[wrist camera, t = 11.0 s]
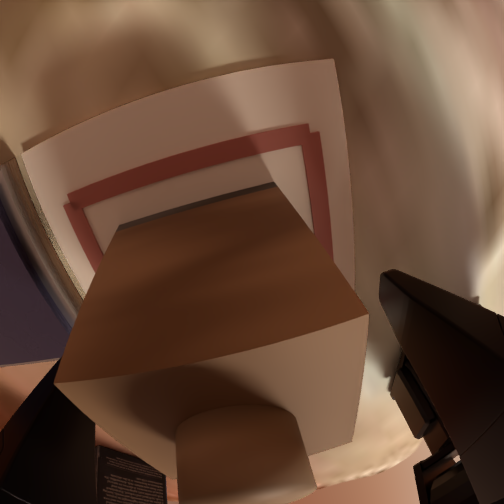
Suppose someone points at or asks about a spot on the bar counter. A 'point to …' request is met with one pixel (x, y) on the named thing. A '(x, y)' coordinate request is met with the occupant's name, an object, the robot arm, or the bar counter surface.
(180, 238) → the stamp
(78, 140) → the print sheet
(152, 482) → the small box
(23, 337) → the ink pad
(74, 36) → the bar counter surface
